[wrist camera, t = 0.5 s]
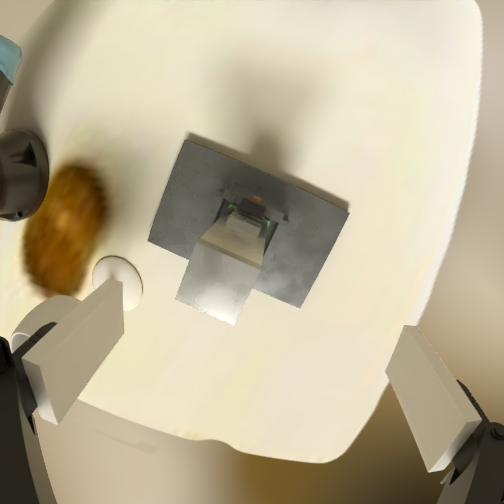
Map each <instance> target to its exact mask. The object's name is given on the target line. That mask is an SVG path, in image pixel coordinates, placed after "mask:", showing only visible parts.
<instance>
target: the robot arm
mask: <svg viewBox="0 0 504 504" xmlns="http://www.w3.org/2000/svg"><path fill="white" fill-rule="evenodd" d="M21 59H22V51H21V48H20V47H19V46H18V45H17V44H15V43H14V42H12V41H11V40H9V39H7V38H5V37H3V36H1V35H0V114H1V111H2V108H3V105H4V103H5V100H6V98H7V95H8V92H9V90H10V87H11V85H13V83H14V77H15V74H16V72H17V69H18V67H19V64H20V62H21ZM48 175H49V171H48V160H47V155H46V152H45V149H44V147H43V144H42V142H41V141H40V139H39V138H38V137H37V136H36V135H35V134H34V133H33V132H31V131H29V130H26V129H12V130H8V131H6V132H3V133H1V134H0V220H3V221H9V222H16V221H20V220H23V219H26V218H28V217H30V216H32V215H33V214H34V213H35V212H36V211H37V210H38V209H39V207H40V205H41V204H42V202H43V199H44V197H45V194H46V190H47V185H48ZM123 334H124V318H123V282H121V281H116V280H112V279H107V280H106V281H105V282H104V283H103V284H101V285H100V286H99V287H98V288H97V289H96V290H95V291H93V292H92V293H91V294H90V295H89V296H88V297H86V298H85V299H84V300H83V301H82V302H81V303H80V304H79V305H77V306H76V307H75V308H74V309H73V310H72V311H71V312H70V313H69V314H67V315H66V316H65V317H64V318H63V319H62V320H61V321H60V322H59V323H55V322H50V323H48V324H46V325H44V326H42V327H41V328H39V329H38V330H37V331H36V332H35V333H34V334H33V335H32V336H30V337H29V338H28V340H26V341H25V342H24V343H23V344H22V345H21V346H20V347H18V348H17V349H16V350H15V351H14V352H13V353H11V349H10V346H9V342H8V341H7V340H6V339H5V338H3V337H1V336H0V504H57V502H56V499H55V496H54V493H53V490H52V487H51V484H50V481H49V477H48V474H47V470H46V467H45V463H44V460H43V456H42V452H41V448H40V443H39V439H38V434H37V430H36V425H35V420H34V417H33V415H32V413H33V412H34V410H35V409H36V408H38V410H39V413H40V416H41V418H43V419H45V420H47V421H50V422H51V423H54V424H56V425H59V424H60V422H61V421H62V419H63V418H64V416H65V415H66V413H67V412H68V411H69V409H70V408H71V406H72V405H73V403H74V402H75V400H76V399H77V398H78V396H79V395H80V393H81V392H82V390H83V389H84V387H85V386H86V385H87V383H88V382H89V380H90V379H91V378H92V376H93V375H94V373H95V372H96V371H97V369H98V368H99V366H100V365H101V364H102V362H103V361H104V360H105V358H106V357H107V355H108V354H109V353H110V351H111V350H112V349H113V347H114V346H115V344H116V343H117V342H118V340H119V339H120V338H121V336H122V335H123ZM385 372H386V374H387V376H388V378H389V381H390V383H391V385H392V387H393V389H394V392H395V394H396V396H397V398H398V401H399V403H400V405H401V407H402V410H403V412H404V414H405V417H406V419H407V421H408V424H409V426H410V428H411V431H412V433H413V436H414V438H415V441H416V443H417V445H418V448H419V450H420V453H421V455H422V458H423V460H424V463H425V465H426V468H427V471H428V472H433V471H439V470H444V469H445V467H446V466H447V465H448V464H449V463H450V462H451V460H453V462H454V465H455V466H454V468H453V469H452V470H451V471H450V472H449V473H448V474H447V475H446V477H445V478H444V479H443V480H442V481H441V484H443V483H444V482H445V481H446V480H447V481H446V484H445V486H444V488H443V491H442V493H441V495H440V498H439V500H438V502H437V504H504V426H503V425H501V424H500V423H496V422H492V423H490V422H489V420H488V419H487V417H486V416H485V414H484V412H483V411H482V409H481V408H480V406H479V405H478V403H477V402H476V400H475V399H474V397H473V396H471V395H472V394H471V393H470V392H469V390H468V389H467V387H466V386H465V385H464V384H462V383H461V382H460V381H459V380H456V379H455V378H454V376H453V375H452V373H451V372H450V371H449V369H448V368H447V366H446V365H445V364H444V362H443V361H442V359H441V358H440V356H439V355H438V354H437V353H436V351H435V350H434V348H433V347H432V345H431V344H430V343H429V341H428V340H427V339H426V337H425V336H424V335H423V333H422V332H421V331H420V329H419V328H418V327H417V326H409V325H404V327H403V330H402V332H401V335H400V337H399V340H398V342H397V345H396V347H395V350H394V352H393V354H392V357H391V359H390V362H389V364H388V366H387V368H386V371H385Z"/></svg>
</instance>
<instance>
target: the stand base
mask: <svg viewBox="0 0 504 504" xmlns="http://www.w3.org/2000/svg"><path fill="white" fill-rule="evenodd" d="M232 202H233V203H235V204H237V205H239V207H238V209H239V210H242V211H244V212H246V213H248V214H251V215H253V216H255V217H257V218H260V219H261V218H262V216H265V217H267V218H269V219H271V222H270V224H269V226H268V228H267V233H266V240H265V247H264V253H263V260H262V266H261V271H260V273H259V275H258V277H257V279H256V282H255V284H254V286H253V289H256V290H258V291H260V292H263V293H265V294H267V295H270V296H272V297H274V298H277V299H279V300H281V301H284V302H286V303H288V304H291V305H293V306H296V307H298V308H300V307H301V305H302V304H303V302H304V300H305V298H306V296H307V295H308V293H309V291H310V289H311V287H312V285H313V284H314V282H315V280H316V278H317V276H318V274H319V272H320V270H321V269H322V267H323V265H324V263H325V261H326V259H327V257H328V255H329V253H330V251H331V249H332V247H333V246H334V244H335V242H336V240H337V238H338V236H339V234H340V232H341V230H342V228H343V226H344V224H345V222H346V220H347V218H348V216H349V214H350V213H349V212H348V211H346V210H344V209H342V208H340V207H338V206H336V205H334V204H332V203H330V202H328V201H325V200H323V199H321V198H319V197H317V196H315V195H313V194H311V193H309V192H307V191H305V190H302V189H300V188H298V187H296V186H294V185H292V184H290V183H287V182H285V181H283V180H281V179H279V178H276V177H274V176H272V175H270V174H267V173H265V172H263V171H261V170H258V169H256V168H254V167H252V166H249V165H247V164H245V163H242V162H240V161H237V160H235V159H233V158H230V157H228V156H226V155H223V154H221V153H218V152H216V151H213V150H211V149H208V148H206V147H203V146H201V145H198V144H196V143H193V142H191V141H188V140H185V141H184V143H183V146H182V148H181V150H180V153H179V155H178V158H177V160H176V163H175V166H174V168H173V171H172V173H171V176H170V179H169V181H168V184H167V186H166V189H165V192H164V195H163V197H162V200H161V203H160V206H159V209H158V211H157V214H156V217H155V220H154V223H153V226H152V229H151V232H150V235H149V238H148V241H149V242H151V243H153V244H155V245H157V246H160V247H162V248H164V249H166V250H168V251H170V252H173V253H175V254H177V255H179V256H181V257H184V258H186V259H188V260H190V258H191V255H192V253H193V250H194V248H195V245H196V243H197V241H198V240H199V239H200V238H201V237H202V236H203V235H204V234H205V233H206V232H207V231H208V230H209V229H210V228H211V227H212V225H213V224H214V223H215V222H216V221H217V220H218V219H219V218H220V217H221V216H222V215H223V214H224V213H225V212H226V211H227V210H228V208H229V206H230V204H231V203H232Z"/></svg>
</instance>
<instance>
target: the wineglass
mask: <svg viewBox="0 0 504 504" xmlns="http://www.w3.org/2000/svg"><path fill="white" fill-rule="evenodd" d="M107 279H112V280H116V281H121V282H123V311H129V310H132V309H133V308H135V307H136V306H137V305H138V304H139V302H140V300H141V297H142V283H141V280H140V277H139V275H138V273H137V272H136V270H135V269H134V268H133V267H132V266H131V265H130V264H129V263H128V262H126V261H125V260H123V259H120V258H117V257H107V258H104V259H102V260H100V261H99V262H98V263H97V264H96V266H95V268H94V270H93V274H92V282H93V287H94V290H96V289H97V288H98V287H99V286H100V285H101V284H103V283H104V282H105V281H106V280H107ZM81 302H82V301H80V300H78V299H76V298H74V297H71V296H65V295H60V296H54V297H52V298H49V299H47V300H45V301H44V302H42V303H40V304H39V305H38V306H36V307H35V308H34V309H33V310H31V311H30V312H29V313H28V314H27V315H26V317H25V318H24V319H23V320H22V321H21V322H20V324H19V325H18V326H17V328H16V329H15V331H14V332H13V334H12V336H11V338H10V349H11V353H13V352H14V351H15V350H16V349H17V348H18V347H20V346H21V345H22V344H23V343H24V342H25V341H26V340H28V338H29V337H30V336H32V335H33V334H34V333H35V332H36V331H37V330H38V329H39V328H41V327H42V326H44V325H46V324H48V323H50V322H55V323H59V322H60V321H61V320H62V319H63V318H64V317H65V316H66V315H67V314H69V313H70V312H71V311H72V310H73V309H74V308H75V307H76V306H77V305H79V304H80V303H81Z"/></svg>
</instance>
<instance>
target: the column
mask: <svg viewBox="0 0 504 504" xmlns="http://www.w3.org/2000/svg"><path fill="white" fill-rule="evenodd" d="M238 207H239V205H237V204H235V203H233V202H232V203H231V204H230V206H229V208H228V210H227V211H226V212H225V213H224V214H223V215H222V216H221V217H220V218H219V219H218V220H217V221H216V222H215V223H214V224H213V225H212V227H211V228H210V229H209V230H208V231H207V232H206V233H205V234H204V235H203V236H202V237H201V238H200V239H199V240H198V241H197V243H196V245H195V248H194V250H193V253H192V255H191V258H190V261H189V263H188V266H187V269H186V271H185V274H184V276H183V279H182V282H181V284H180V287H179V290H178V293H177V295H176V298H175V299H176V300H178V301H180V302H182V303H185V304H187V305H189V306H191V307H193V308H196V309H198V310H200V311H202V312H205V313H207V314H209V315H211V316H214V317H216V318H218V319H221V320H223V321H225V322H228V323H230V324H232V325H235V323H236V321H237V319H238V317H239V315H240V313H241V310H242V308H243V306H244V304H245V302H246V300H247V298H248V296H249V294H250V292H251V290H252V288H253V286H254V284H255V282H256V279H257V277H258V275H259V273H260V271H261V266H262V260H263V253H264V247H265V240H266V233H267V228H268V226H269V224H270V222H271V219H269V218H267V217H265V216H262V218H261V219H260V218H257V217H255V216H253V215H251V214H248V213H246V212H244V211H242V210H239V209H238Z"/></svg>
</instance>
